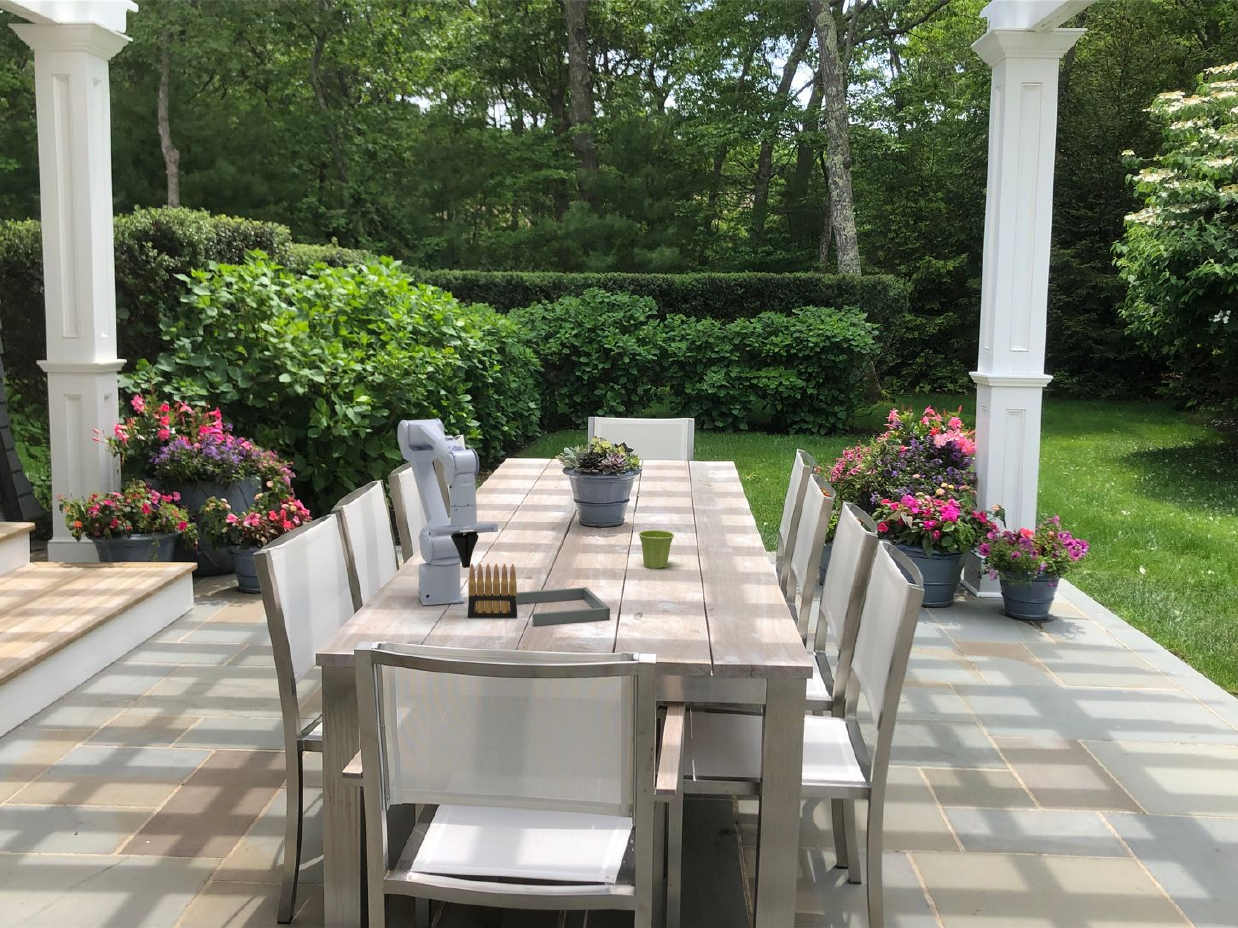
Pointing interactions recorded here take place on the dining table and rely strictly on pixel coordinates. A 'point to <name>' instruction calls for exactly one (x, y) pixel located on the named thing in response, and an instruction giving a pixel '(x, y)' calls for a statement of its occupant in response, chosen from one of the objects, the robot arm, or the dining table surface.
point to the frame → (570, 616)
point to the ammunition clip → (478, 596)
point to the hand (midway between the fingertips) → (466, 567)
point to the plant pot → (656, 547)
